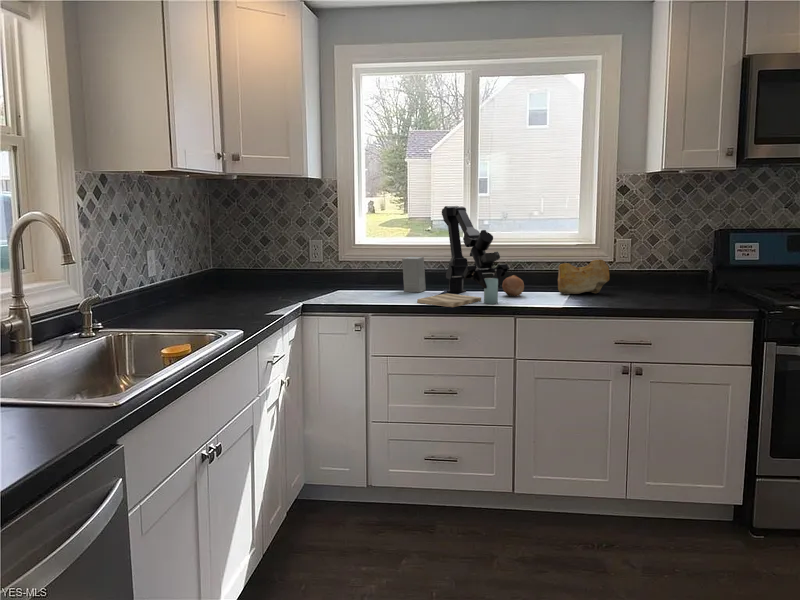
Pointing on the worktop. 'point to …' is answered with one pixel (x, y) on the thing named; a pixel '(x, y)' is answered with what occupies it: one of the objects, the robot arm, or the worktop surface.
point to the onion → (513, 286)
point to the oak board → (449, 300)
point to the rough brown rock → (582, 277)
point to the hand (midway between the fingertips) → (492, 287)
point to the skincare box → (413, 274)
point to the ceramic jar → (491, 290)
